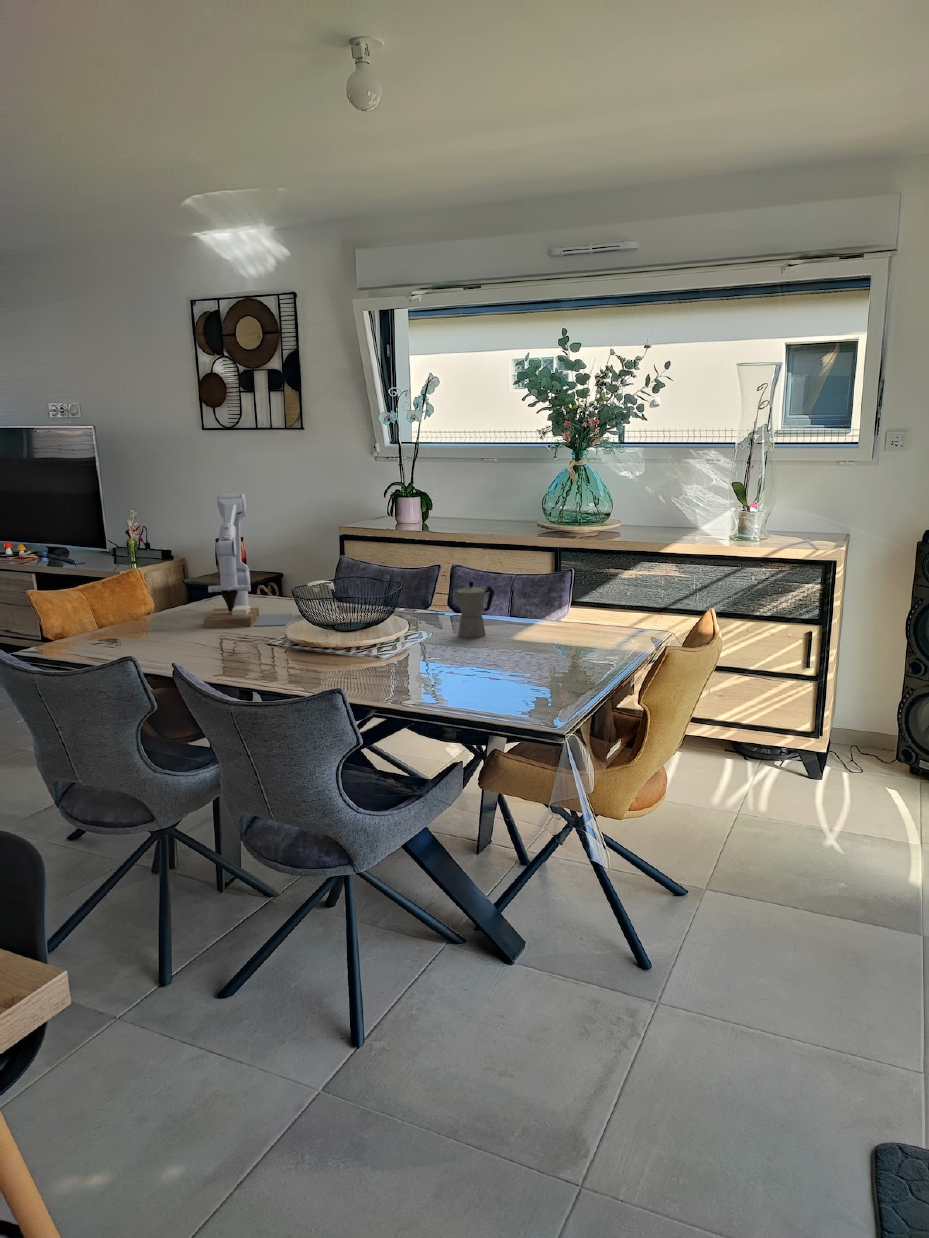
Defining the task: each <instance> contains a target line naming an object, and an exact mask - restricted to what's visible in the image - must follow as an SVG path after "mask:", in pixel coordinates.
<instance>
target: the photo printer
mask: <svg viewBox="0 0 929 1238" xmlns="http://www.w3.org/2000/svg"><path fill="white" fill-rule="evenodd" d="M324 582H331V581H329V580H315V581H311V582H309V583H307V585H306V587H307V586H312V585H317V584H320V583H324ZM326 585H329V588H330V589H333V590H334V591H335V586H334V585H335V584H334V582H332V583H331V584H326ZM317 587H319V586H317ZM313 590H314V591H315V592H318V591H319V588H314V587H313Z"/></svg>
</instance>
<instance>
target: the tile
mask: <svg viewBox="0 0 929 1238" xmlns="http://www.w3.org/2000/svg"><path fill="white" fill-rule="evenodd" d="M250 606H251V605H246V606H235V607H234V608H233V609H232V615H247V614H248V613H249V612H250Z"/></svg>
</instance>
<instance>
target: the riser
mask: <svg viewBox="0 0 929 1238" xmlns="http://www.w3.org/2000/svg"><path fill="white" fill-rule="evenodd" d="M259 609H260V608H259V607H256V606H255V607H254V606H253V607H251V608H250V612H249V613H248V614H247V615H232V612H229V610H228V607H227V608H222V607H221V608H220V607H219V608H213V610H211V612H210V613H208V615H206V617H205V618H204V619H203V629H217V628H219V629H220V628H223V629H224V628H243V627H242V626H251V627H252V626H253V625H254V624H255V623H256V622H255V621H257V620H258V618H259V617H260V611H259ZM257 617H258V618H257Z"/></svg>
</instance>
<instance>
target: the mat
mask: <svg viewBox="0 0 929 1238" xmlns="http://www.w3.org/2000/svg"><path fill="white" fill-rule="evenodd" d="M292 614H293V613H292V612H291V613H287V612H286V613H284V612H283V613H262V614H260V615H259V616H258V618H257V619H256V620H255V621H256V622H254V623H253V627H254V626H257V627H283V626H284V627H285V626H286V625H287V624H288V622H289V620H290V619H291V616H292ZM286 623H287V624H286Z"/></svg>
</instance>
